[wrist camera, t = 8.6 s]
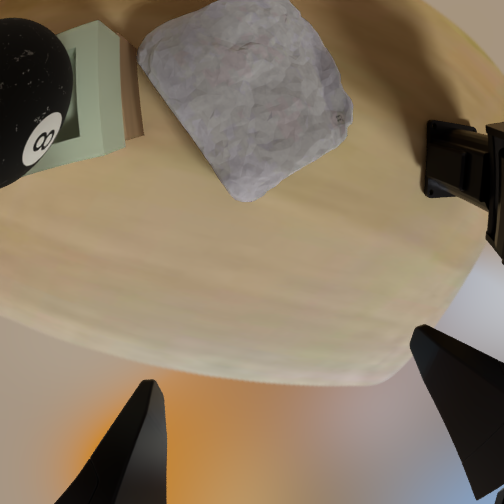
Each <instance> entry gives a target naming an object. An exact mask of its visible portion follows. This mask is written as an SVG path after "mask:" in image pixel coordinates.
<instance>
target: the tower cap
mask: <svg viewBox="0 0 504 504" xmlns="http://www.w3.org/2000/svg"><path fill="white" fill-rule="evenodd" d="M56 36H57V37H58V38H59V40H60V41H61V42H62V44H63V45H64V47H65V48H66V51H67V53H68V55H69V58H70V61H71V65H72V70H73V90H72V97H71V101H70V105H69V109H68V112H67V115H66V118H65V120H64V123H63V125H62V127H61V129H60V131H59V133H58V135H57V137H56V138H55V140H54V142H53V143H52V145H51V146H50V148H49V149H48V150H47V152H46V153H45V154H44V156H43V157H42V158H41V159H40V160H39V161H38V163H37V164H36V165H35V166H34V167H33V168H31V169H30V170H29V171H28V172H27V173H26V174H25V175H23V176H26V175H30V174H33V173H36V172H40V171H43V170H47V169H50V168H54V167H58V166H61V165H65V164H69V163H73V162H77V161H82V160H86V159H90V158H95V157H100V156H104V155H107V154H109V153H112V152H114V151H117V150H119V149H122V148H124V147H126V145H125V136H124V126H123V115H122V101H121V84H120V37H119V36H118V35H116V34H115V33H114V32H113V31H112V30H110V29H109V28H108V27H107V26H105V25H104V24H103V23H102V22H101V21H99V20H96V21H93V22H90V23H87V24H84V25H81V26H78V27H75V28H73V29H70V30H67V31H65V32H62V33H59V34H57V35H56ZM23 176H22V177H23Z"/></svg>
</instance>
